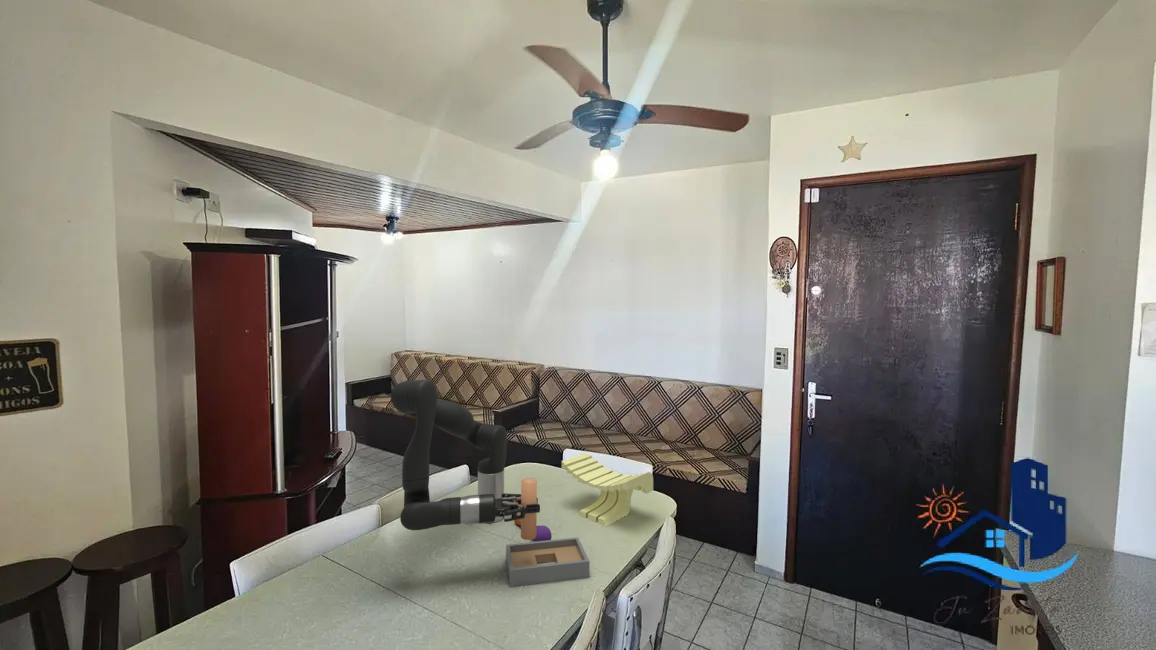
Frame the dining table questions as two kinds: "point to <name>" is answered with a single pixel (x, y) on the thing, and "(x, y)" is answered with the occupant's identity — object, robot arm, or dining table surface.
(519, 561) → the peg box
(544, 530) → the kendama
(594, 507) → the slatted curved stool
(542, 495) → the dining table surface
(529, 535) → the peg
